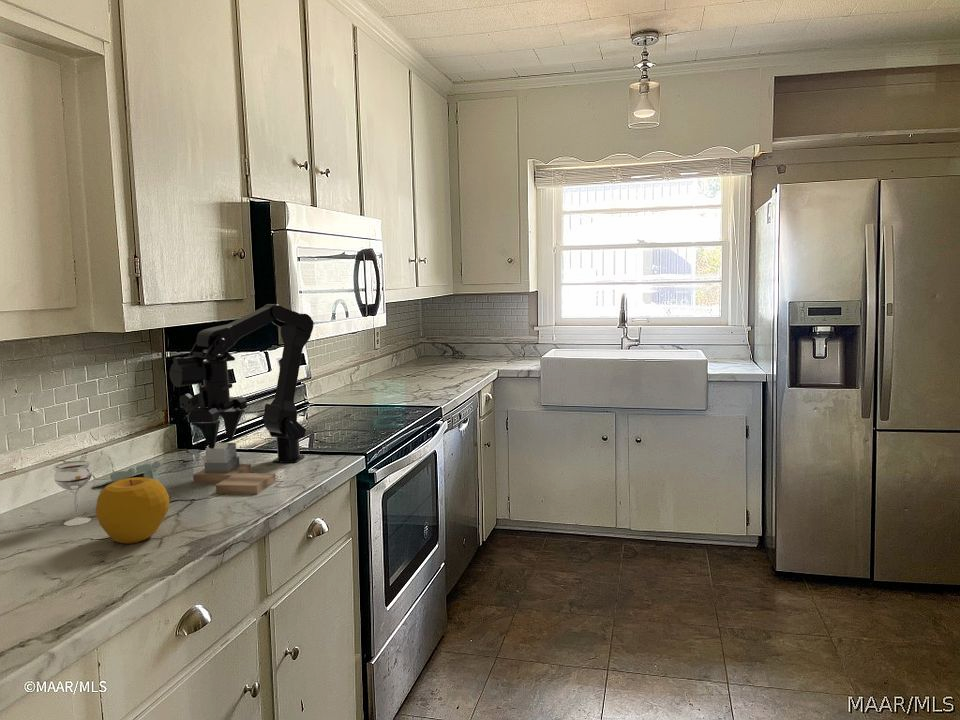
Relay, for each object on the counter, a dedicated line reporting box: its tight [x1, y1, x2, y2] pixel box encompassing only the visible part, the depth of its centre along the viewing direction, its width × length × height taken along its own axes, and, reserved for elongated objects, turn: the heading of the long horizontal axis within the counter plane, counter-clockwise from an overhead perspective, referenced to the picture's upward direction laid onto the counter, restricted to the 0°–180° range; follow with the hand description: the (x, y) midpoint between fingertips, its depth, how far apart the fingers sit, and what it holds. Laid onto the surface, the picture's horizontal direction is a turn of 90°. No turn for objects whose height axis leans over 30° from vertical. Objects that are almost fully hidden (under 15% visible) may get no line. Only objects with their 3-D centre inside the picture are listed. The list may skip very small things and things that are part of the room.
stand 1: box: [192, 463, 252, 484], centre depth 184 cm, size 10×10×2 cm
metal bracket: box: [91, 459, 169, 489], centre depth 183 cm, size 14×6×15 cm
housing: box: [203, 442, 241, 473], centre depth 184 cm, size 6×6×6 cm
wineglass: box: [53, 460, 92, 527], centre depth 154 cm, size 7×7×12 cm
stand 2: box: [215, 472, 277, 495], centre depth 175 cm, size 10×10×2 cm
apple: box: [95, 476, 171, 545], centre depth 143 cm, size 13×13×11 cm
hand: (221, 443), depth 184 cm, fingers open, 9 cm apart
